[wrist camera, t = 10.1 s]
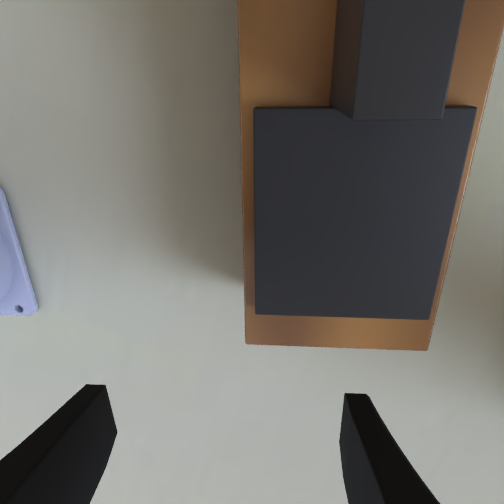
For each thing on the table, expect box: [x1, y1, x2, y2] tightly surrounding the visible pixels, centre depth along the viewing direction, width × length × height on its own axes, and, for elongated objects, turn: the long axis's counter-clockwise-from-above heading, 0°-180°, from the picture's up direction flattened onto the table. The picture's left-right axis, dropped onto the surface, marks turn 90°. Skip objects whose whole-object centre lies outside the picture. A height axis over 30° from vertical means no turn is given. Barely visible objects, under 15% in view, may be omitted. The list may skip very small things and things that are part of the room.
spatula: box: [253, 0, 477, 320], centre depth 10 cm, size 7×20×4 cm, turn 1°
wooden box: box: [238, 0, 504, 351], centre depth 14 cm, size 8×24×5 cm, turn 0°
